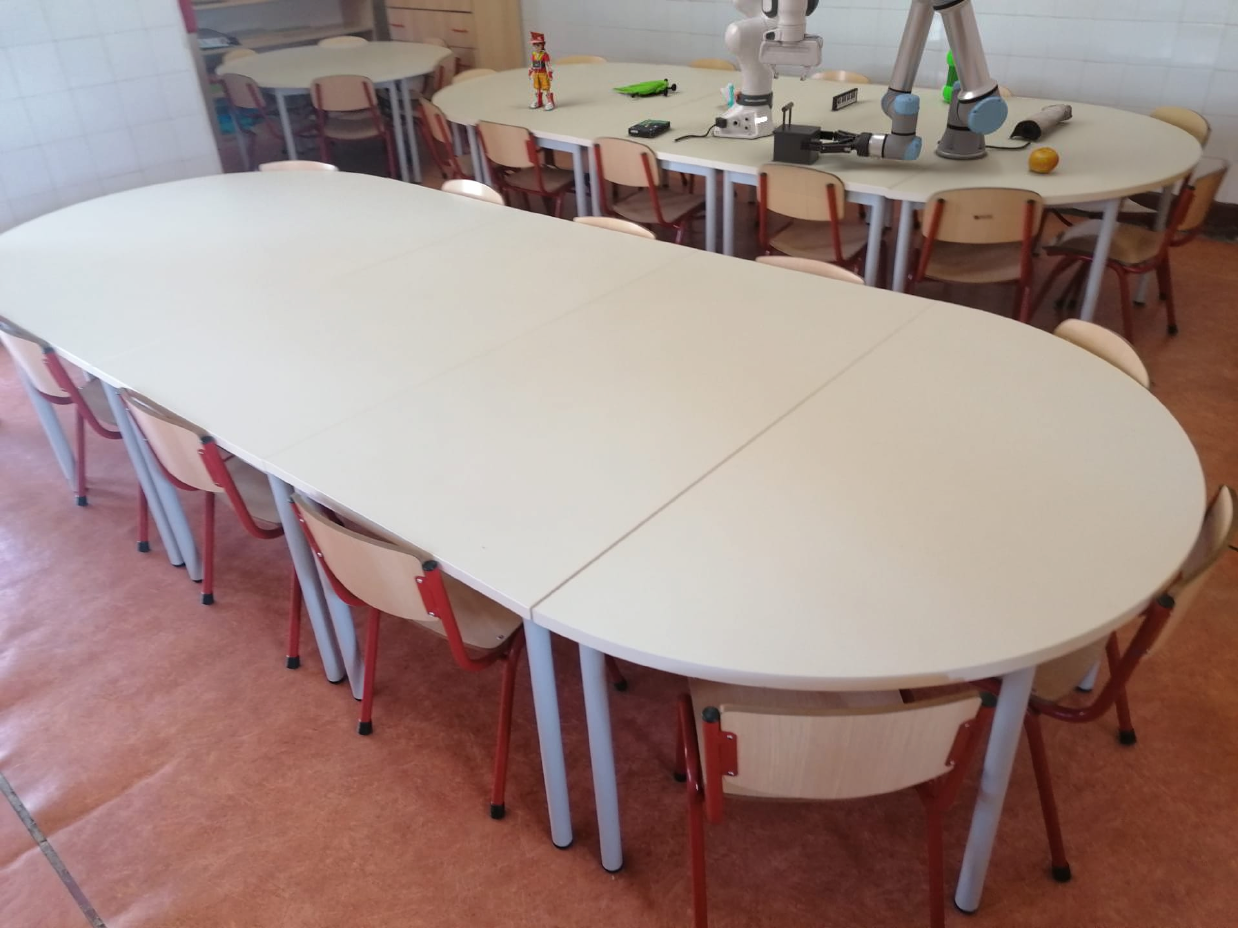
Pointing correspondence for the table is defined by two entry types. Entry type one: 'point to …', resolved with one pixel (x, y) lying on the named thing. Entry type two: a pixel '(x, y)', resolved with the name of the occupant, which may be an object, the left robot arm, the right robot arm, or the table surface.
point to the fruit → (1043, 160)
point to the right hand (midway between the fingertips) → (807, 139)
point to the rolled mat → (1042, 122)
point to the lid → (794, 129)
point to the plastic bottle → (950, 78)
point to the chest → (794, 149)
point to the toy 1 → (541, 71)
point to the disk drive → (649, 128)
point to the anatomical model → (729, 94)
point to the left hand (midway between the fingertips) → (789, 79)
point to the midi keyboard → (844, 98)
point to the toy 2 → (648, 88)
